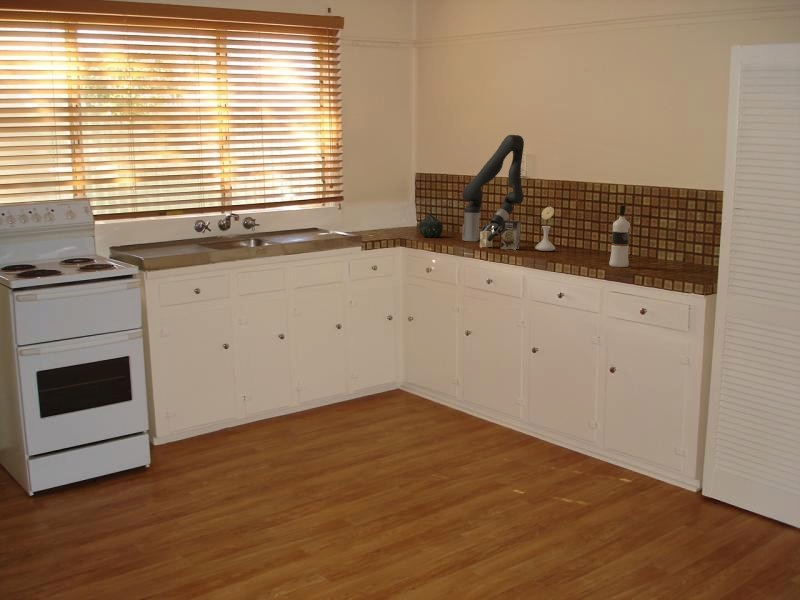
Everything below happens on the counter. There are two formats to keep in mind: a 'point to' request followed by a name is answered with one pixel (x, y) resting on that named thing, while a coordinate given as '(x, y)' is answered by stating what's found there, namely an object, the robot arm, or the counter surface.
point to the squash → (430, 227)
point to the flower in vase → (546, 231)
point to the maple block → (485, 239)
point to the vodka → (620, 241)
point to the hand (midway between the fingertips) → (484, 239)
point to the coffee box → (510, 234)
